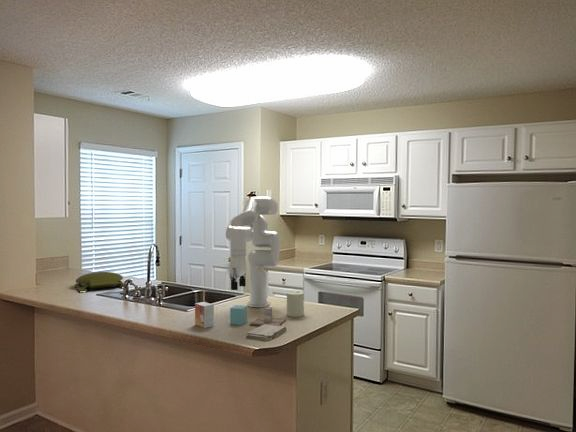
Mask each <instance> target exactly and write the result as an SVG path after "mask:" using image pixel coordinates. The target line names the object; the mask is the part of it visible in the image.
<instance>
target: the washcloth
mask: <svg viewBox="0 0 576 432" xmlns="http://www.w3.org/2000/svg"><path fill="white" fill-rule="evenodd" d="M286 331H287V326H284V325H283V326H282V325H280V326H273V325H267V324H264V325H262V326H256V328H254V329H252V330H250V331H247V332H246V333H245V334H246V338H247V339H248V338H249V339H251V340H257V339H260V340H259V341H264V340H265V342H268V341H271V340H272V339H271V338H273V337H275V336H277V335H278V336H280V335H282V334H283V333H285V332H286ZM282 332H283V333H282ZM281 333H282V334H281ZM279 334H280V335H279ZM278 336H277V337H278ZM275 338H276V337H275ZM270 339H271V340H270ZM273 339H274V338H273Z"/></svg>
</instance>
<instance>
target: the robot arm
mask: <svg viewBox="0 0 576 432" xmlns="http://www.w3.org/2000/svg"><path fill="white" fill-rule="evenodd" d="M278 204H279V203H278V202H277V201H276V199H274V198H272V197H270V196H251V197H248V199H247V201H246V203H245V205H244V208H243V210H242V212H241V213H239V214H237V215H236V216H234V217H232V219H231V220H229V223H228V224H227V227H226V229H225V238H226V240H228V241H229V242H230V247H229V248H230V249H229V251H230V254H229V255H230V259H229V270H228V271H229V274H228V276H229V277H230V290H231V291H237V290H238V288H239V287H243V288H244V287H246V282H247V281H246V275H247V265H246V264H247V263H246V262H247V261H246V256H247V255H248V256H247V260H248V267H249V299H250V301H249V302H247V305H246V306H247V307H249V308H265V307H270V305H271V304H270V302H269V301H267V300H268V295H267V293H268V290H267V289H268V288H267V285H268V282H267V280H268V279H267V272H266V270H265V269H264V267H265V268H275V267H277V266H278V265H279V262H280V246H281V236H280V234H279V233H278V231H275V230H274V231H273V230H268V229H269V227H268V226H269V223H268V220H267V219H266V218H265V217H264V215H265V216H267V215H268V216H271V215H272V216H273V215H276V214H277V213H278V211H279V205H278ZM250 225H252V227H251V226H250ZM247 242H251V243H252V244H251V245H252V246H253V247H255V248H260V249H254V250H253V249H252V250H250V251H249V253H248V254H247ZM262 248H263V249H262ZM267 248H268V249H267ZM238 284H239V285H238ZM238 286H239V287H238ZM238 291H239V290H238Z"/></svg>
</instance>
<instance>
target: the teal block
mask: <svg viewBox="0 0 576 432" xmlns="http://www.w3.org/2000/svg"><path fill="white" fill-rule="evenodd" d="M229 312H230V313H229V314H230V315H229V317H230V320H229V321H230V325H237V326H238V325H239V326H243V325H245V323H247V322H248V305H238V304H237V305H236V304H235V305H233V306H231V307H230V309H229Z"/></svg>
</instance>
